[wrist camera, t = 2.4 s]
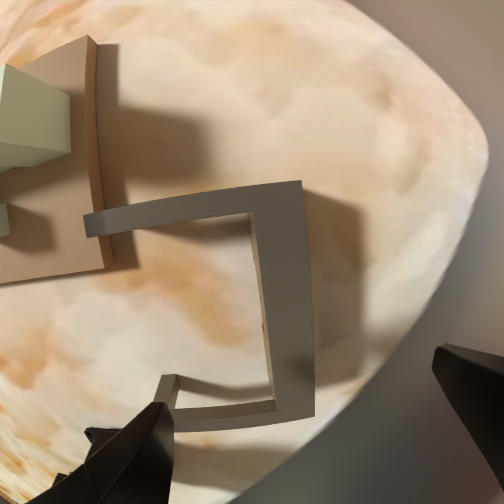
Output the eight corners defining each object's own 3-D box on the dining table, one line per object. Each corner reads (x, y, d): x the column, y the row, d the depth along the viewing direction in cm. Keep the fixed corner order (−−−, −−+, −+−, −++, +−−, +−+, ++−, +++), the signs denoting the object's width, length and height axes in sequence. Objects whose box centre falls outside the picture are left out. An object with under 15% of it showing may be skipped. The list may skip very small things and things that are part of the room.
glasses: (281, 182, 15) (301, 179, 11) (298, 371, 18) (314, 416, 13) (120, 207, 15) (82, 215, 10) (165, 386, 17) (153, 432, 13)
